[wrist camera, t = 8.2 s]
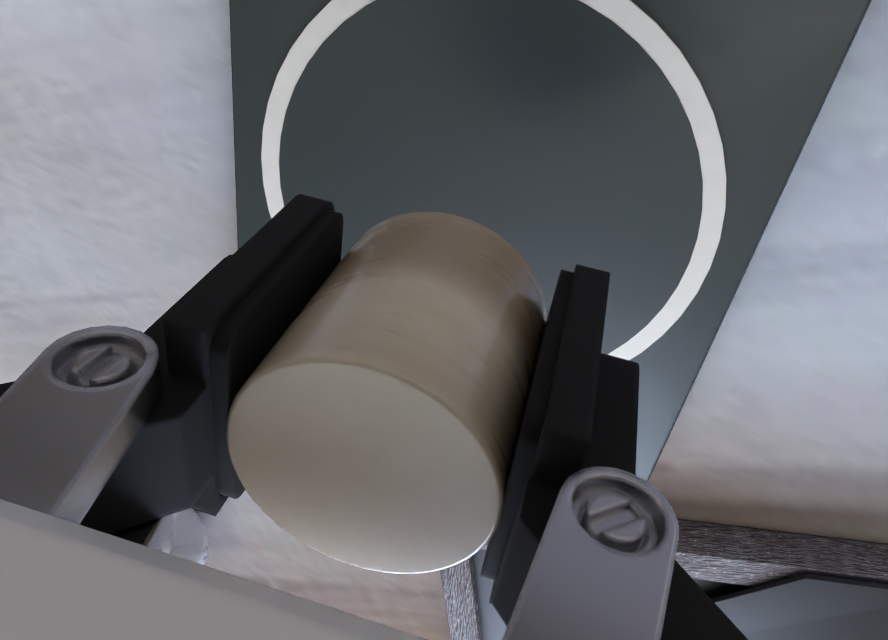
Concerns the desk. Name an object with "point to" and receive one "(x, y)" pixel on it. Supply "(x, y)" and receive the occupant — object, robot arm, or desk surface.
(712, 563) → the picture frame
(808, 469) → the desk surface
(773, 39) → the slate board
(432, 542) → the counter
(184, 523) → the frog figurine
